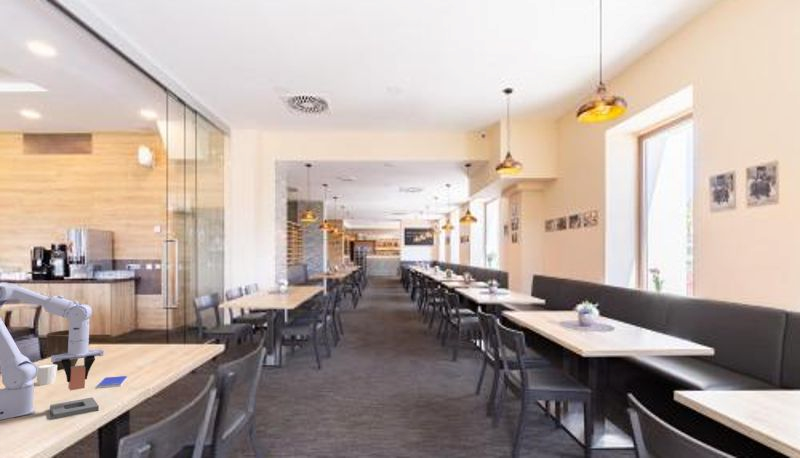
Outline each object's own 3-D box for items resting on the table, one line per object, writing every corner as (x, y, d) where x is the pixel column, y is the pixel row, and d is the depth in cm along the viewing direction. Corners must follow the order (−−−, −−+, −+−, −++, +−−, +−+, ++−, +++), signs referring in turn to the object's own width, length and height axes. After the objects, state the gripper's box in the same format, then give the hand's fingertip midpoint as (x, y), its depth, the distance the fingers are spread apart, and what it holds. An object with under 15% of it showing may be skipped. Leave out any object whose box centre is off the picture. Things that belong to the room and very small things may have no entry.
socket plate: (53, 419, 142) (53, 414, 142) (49, 409, 151) (50, 404, 151) (98, 410, 150) (98, 405, 150) (92, 401, 159) (92, 397, 159)
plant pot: (89, 362, 215) (91, 329, 216) (78, 370, 201) (80, 334, 202) (53, 364, 211) (54, 330, 211) (38, 372, 196) (40, 336, 197)
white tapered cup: (55, 379, 186) (56, 362, 186) (58, 383, 181) (58, 365, 181) (34, 383, 181) (35, 365, 181) (36, 386, 176) (37, 368, 176)
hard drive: (120, 383, 178) (127, 375, 189) (96, 385, 175) (104, 377, 186) (120, 387, 177) (127, 379, 189) (96, 389, 175) (104, 381, 186)
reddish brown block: (70, 390, 149) (71, 369, 150) (68, 387, 152) (69, 367, 153) (84, 388, 152) (85, 367, 153) (82, 385, 155) (83, 365, 155)
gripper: (53, 344, 145) (51, 386, 144) (106, 338, 155) (104, 378, 154) (51, 341, 150) (48, 382, 149) (101, 336, 160) (100, 374, 159)
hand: (76, 380), depth 152 cm, fingers closed on reddish brown block, 4 cm apart
